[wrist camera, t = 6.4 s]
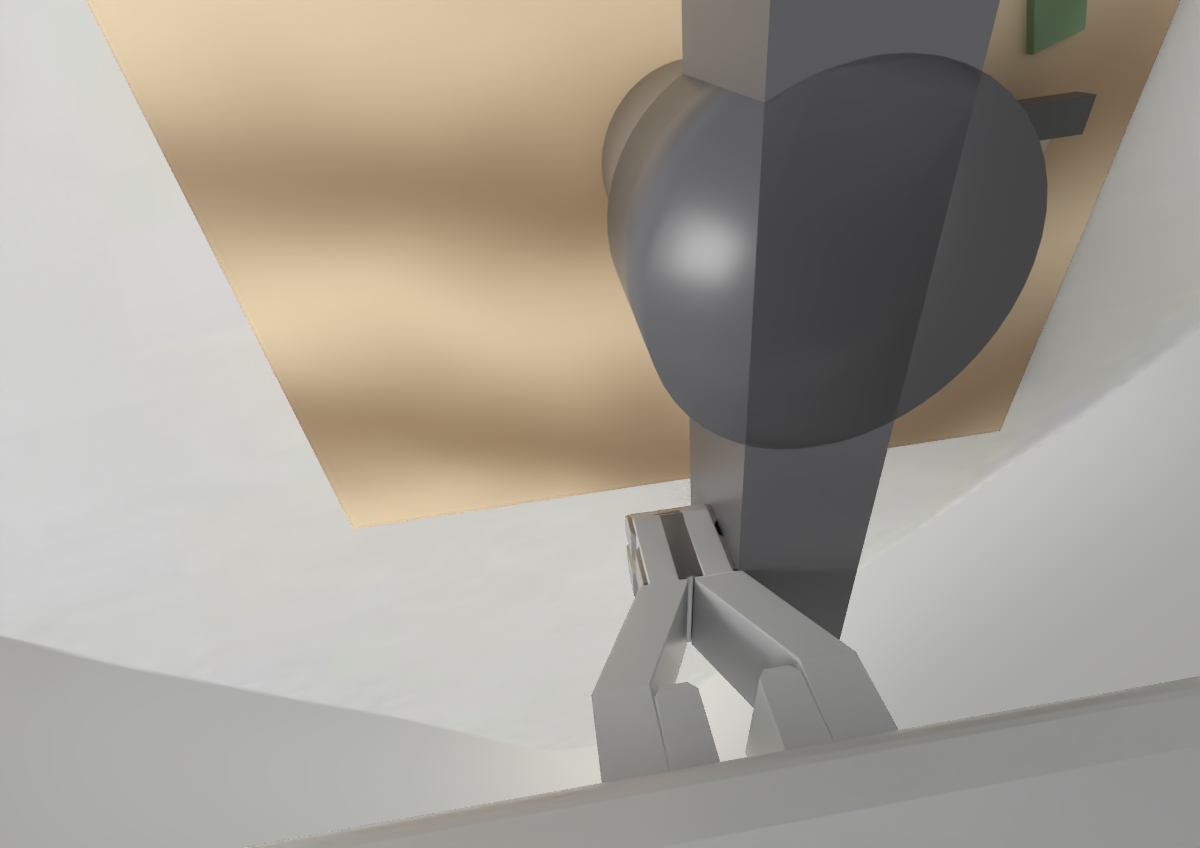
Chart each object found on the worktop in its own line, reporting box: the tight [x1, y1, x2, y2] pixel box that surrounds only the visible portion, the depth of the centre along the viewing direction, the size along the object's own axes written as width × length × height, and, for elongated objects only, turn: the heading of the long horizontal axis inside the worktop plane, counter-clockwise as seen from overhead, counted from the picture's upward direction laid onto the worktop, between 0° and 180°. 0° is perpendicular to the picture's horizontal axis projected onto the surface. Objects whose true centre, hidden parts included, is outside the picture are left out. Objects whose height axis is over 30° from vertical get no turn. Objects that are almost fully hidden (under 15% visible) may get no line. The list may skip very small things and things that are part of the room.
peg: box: [602, 0, 1097, 640], centre depth 9 cm, size 14×10×7 cm
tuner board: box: [86, 0, 1180, 529], centre depth 13 cm, size 18×20×2 cm
